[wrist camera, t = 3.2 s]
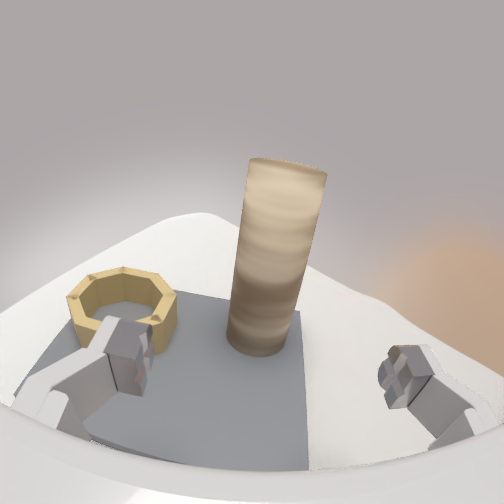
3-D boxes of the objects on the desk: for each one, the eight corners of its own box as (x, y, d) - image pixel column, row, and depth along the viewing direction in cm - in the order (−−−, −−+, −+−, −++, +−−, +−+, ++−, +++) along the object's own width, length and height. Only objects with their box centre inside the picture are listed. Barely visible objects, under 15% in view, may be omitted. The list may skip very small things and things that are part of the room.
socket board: (304, 483, 13) (325, 459, 12) (18, 402, 14) (-4, 366, 12) (297, 318, 29) (307, 285, 27) (109, 283, 29) (105, 250, 27)
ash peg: (285, 361, 22) (333, 181, 16) (221, 351, 22) (245, 166, 16) (284, 321, 27) (321, 167, 20) (230, 313, 27) (252, 155, 20)
